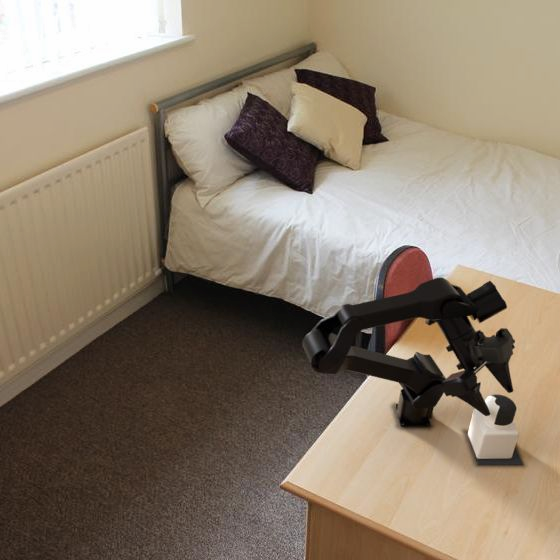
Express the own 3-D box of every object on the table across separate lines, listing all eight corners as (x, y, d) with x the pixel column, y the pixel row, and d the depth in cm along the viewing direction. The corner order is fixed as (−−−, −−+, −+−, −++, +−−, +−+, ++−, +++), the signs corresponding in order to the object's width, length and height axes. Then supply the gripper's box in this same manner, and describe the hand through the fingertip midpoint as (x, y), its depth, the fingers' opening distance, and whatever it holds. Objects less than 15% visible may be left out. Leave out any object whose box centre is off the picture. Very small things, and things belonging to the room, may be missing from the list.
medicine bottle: (500, 433, 148) (513, 389, 141) (511, 459, 142) (525, 415, 135) (466, 433, 147) (478, 390, 141) (476, 459, 141) (489, 415, 135)
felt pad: (478, 465, 140) (478, 464, 140) (466, 432, 148) (466, 431, 148) (522, 465, 141) (522, 464, 141) (508, 432, 148) (508, 431, 148)
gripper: (466, 345, 127) (509, 421, 127) (515, 303, 138) (555, 372, 138) (422, 359, 135) (463, 430, 135) (472, 318, 147) (510, 384, 147)
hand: (499, 403), depth 139 cm, fingers open, 9 cm apart
